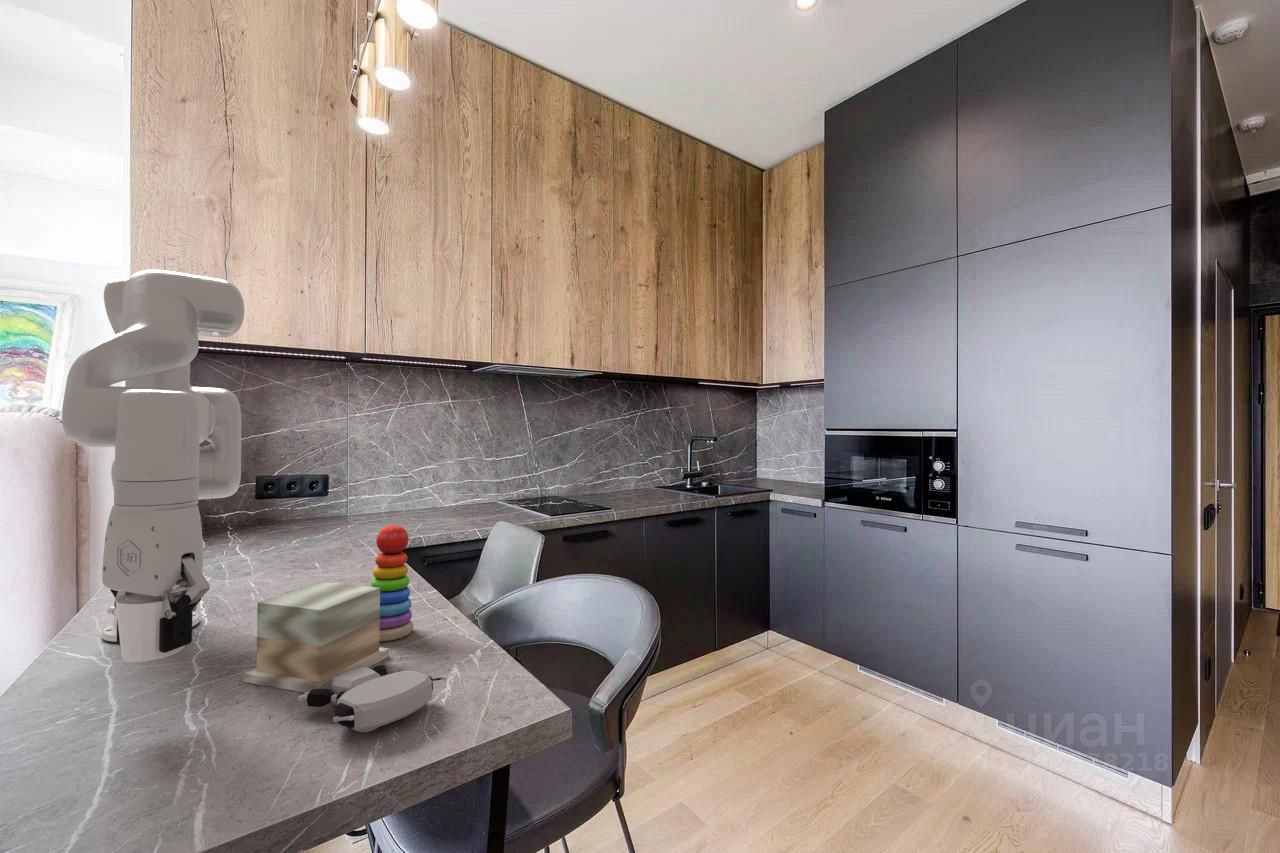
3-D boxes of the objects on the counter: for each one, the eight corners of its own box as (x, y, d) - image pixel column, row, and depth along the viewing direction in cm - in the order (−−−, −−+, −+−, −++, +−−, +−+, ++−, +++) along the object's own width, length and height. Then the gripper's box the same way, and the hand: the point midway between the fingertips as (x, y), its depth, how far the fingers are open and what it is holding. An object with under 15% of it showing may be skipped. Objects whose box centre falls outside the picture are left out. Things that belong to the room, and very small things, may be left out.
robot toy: (289, 723, 67) (355, 755, 59) (289, 685, 67) (354, 712, 59) (384, 685, 77) (451, 708, 69) (383, 653, 77) (450, 671, 69)
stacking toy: (393, 645, 89) (395, 530, 89) (351, 641, 90) (353, 528, 91) (422, 628, 96) (424, 522, 97) (382, 624, 98) (384, 520, 98)
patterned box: (243, 681, 75) (245, 603, 75) (321, 646, 88) (322, 579, 88) (319, 695, 72) (321, 613, 72) (389, 656, 84) (390, 586, 85)
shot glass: (203, 647, 67) (204, 590, 66) (132, 669, 60) (133, 607, 60) (173, 635, 69) (174, 581, 69) (102, 656, 63) (103, 596, 63)
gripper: (67, 492, 63) (64, 645, 64) (177, 503, 59) (173, 668, 59) (141, 484, 70) (138, 622, 71) (244, 494, 66) (240, 642, 66)
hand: (154, 642), depth 65 cm, fingers closed on shot glass, 6 cm apart
